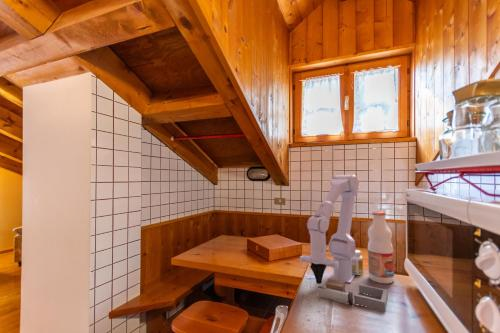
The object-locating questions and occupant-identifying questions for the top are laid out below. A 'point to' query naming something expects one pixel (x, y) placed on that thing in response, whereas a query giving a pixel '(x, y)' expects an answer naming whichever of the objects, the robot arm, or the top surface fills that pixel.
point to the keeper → (336, 295)
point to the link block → (335, 285)
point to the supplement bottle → (357, 263)
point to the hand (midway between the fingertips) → (319, 283)
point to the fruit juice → (380, 250)
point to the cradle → (370, 301)
